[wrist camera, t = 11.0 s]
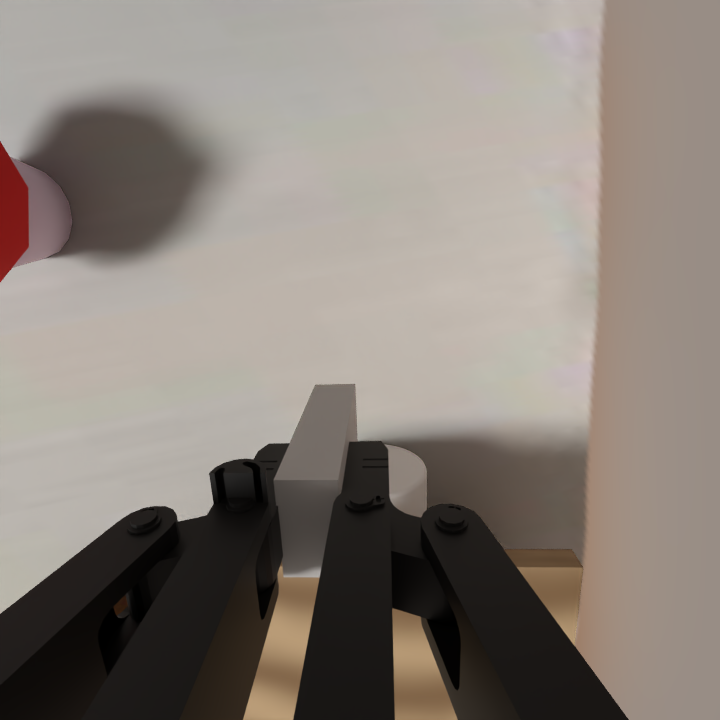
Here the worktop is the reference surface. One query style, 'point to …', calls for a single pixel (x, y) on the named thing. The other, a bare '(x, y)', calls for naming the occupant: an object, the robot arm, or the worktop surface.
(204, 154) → the worktop surface
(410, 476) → the mug
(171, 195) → the worktop surface
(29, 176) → the mushroom
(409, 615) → the small wooden shelf
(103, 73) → the worktop surface
